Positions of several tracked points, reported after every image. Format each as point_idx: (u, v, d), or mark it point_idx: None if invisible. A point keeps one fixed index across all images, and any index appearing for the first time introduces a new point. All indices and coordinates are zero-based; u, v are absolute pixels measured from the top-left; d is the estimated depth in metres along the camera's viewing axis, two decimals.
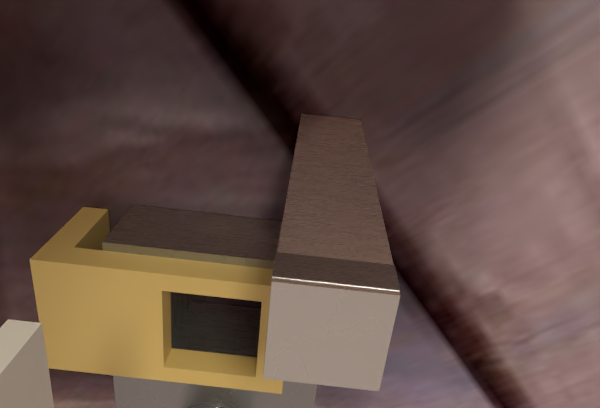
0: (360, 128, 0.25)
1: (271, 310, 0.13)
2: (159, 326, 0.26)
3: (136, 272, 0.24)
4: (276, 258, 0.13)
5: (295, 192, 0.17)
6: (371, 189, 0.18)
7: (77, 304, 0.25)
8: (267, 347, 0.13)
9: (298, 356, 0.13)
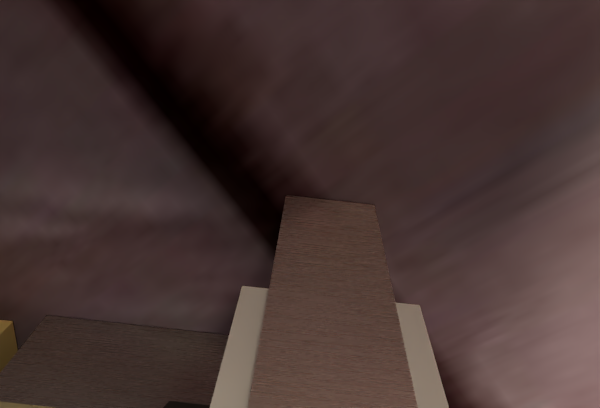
0: (375, 225, 0.16)
1: None
2: None
3: None
4: None
5: None
6: None
7: None
8: None
9: None
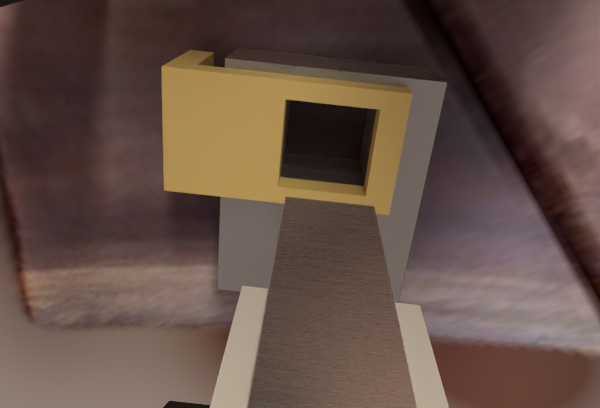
0: (375, 227, 0.16)
1: None
2: (278, 140, 0.27)
3: (263, 79, 0.26)
4: None
5: None
6: None
7: (202, 116, 0.27)
8: None
9: None
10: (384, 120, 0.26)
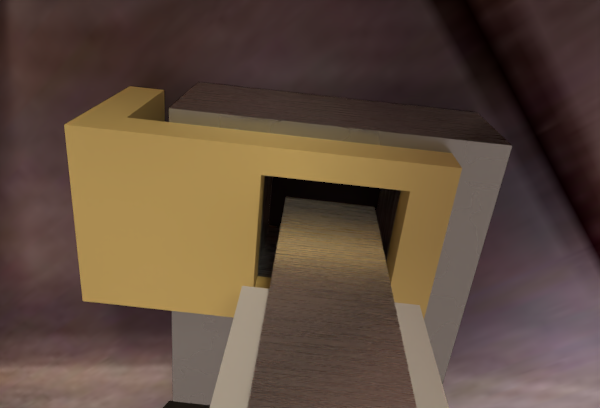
0: (375, 227, 0.16)
1: None
2: (252, 233, 0.18)
3: (225, 145, 0.16)
4: None
5: None
6: None
7: (132, 199, 0.17)
8: None
9: None
10: (416, 206, 0.17)
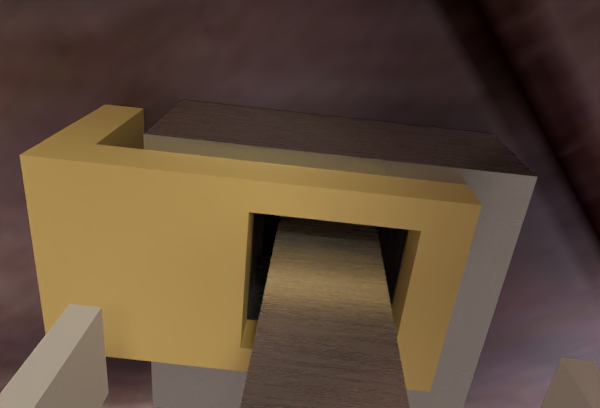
0: None
1: None
2: (239, 277, 0.15)
3: (206, 178, 0.14)
4: None
5: (267, 346, 0.11)
6: (387, 330, 0.12)
7: (101, 238, 0.15)
8: None
9: None
10: (427, 248, 0.15)
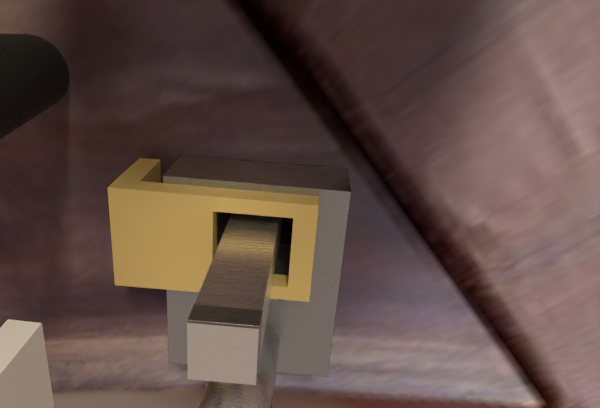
0: None
1: (188, 338, 0.22)
2: (209, 243, 0.32)
3: (192, 196, 0.31)
4: (192, 308, 0.23)
5: (217, 261, 0.27)
6: (268, 256, 0.28)
7: (143, 226, 0.32)
8: (188, 360, 0.23)
9: (206, 365, 0.23)
10: (297, 226, 0.31)
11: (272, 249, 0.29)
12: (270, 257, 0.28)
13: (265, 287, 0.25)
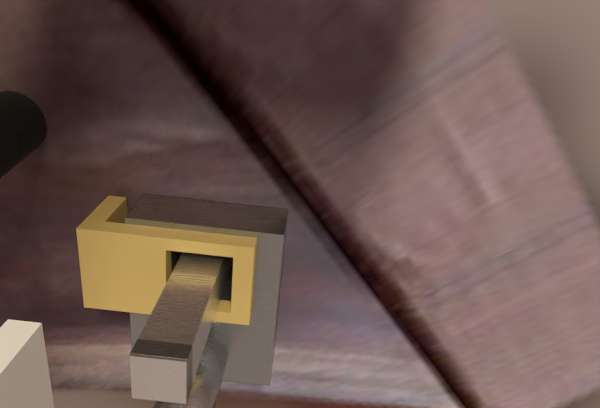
0: None
1: (131, 367, 0.28)
2: (163, 275, 0.38)
3: (148, 237, 0.36)
4: (136, 342, 0.29)
5: (163, 298, 0.33)
6: (207, 293, 0.34)
7: (107, 260, 0.37)
8: (131, 383, 0.29)
9: (146, 388, 0.29)
10: (237, 264, 0.37)
11: (212, 286, 0.35)
12: (209, 294, 0.34)
13: (199, 323, 0.31)
